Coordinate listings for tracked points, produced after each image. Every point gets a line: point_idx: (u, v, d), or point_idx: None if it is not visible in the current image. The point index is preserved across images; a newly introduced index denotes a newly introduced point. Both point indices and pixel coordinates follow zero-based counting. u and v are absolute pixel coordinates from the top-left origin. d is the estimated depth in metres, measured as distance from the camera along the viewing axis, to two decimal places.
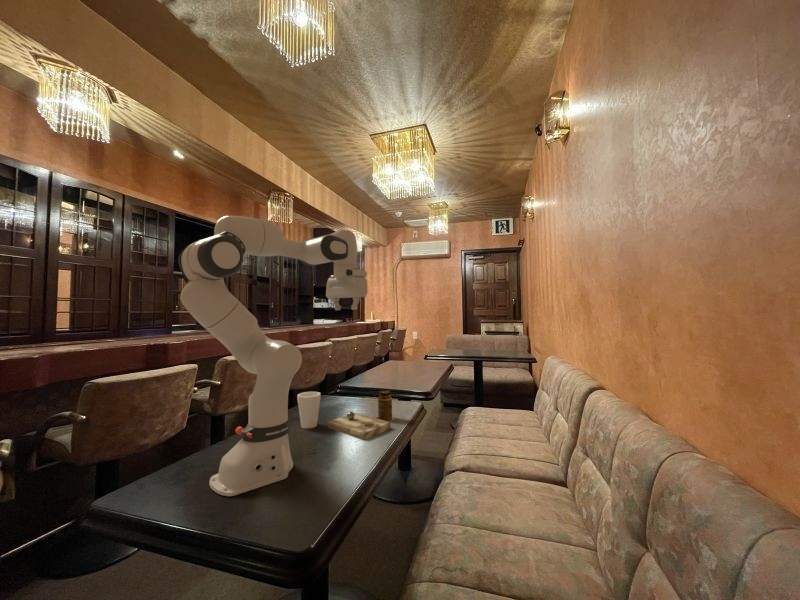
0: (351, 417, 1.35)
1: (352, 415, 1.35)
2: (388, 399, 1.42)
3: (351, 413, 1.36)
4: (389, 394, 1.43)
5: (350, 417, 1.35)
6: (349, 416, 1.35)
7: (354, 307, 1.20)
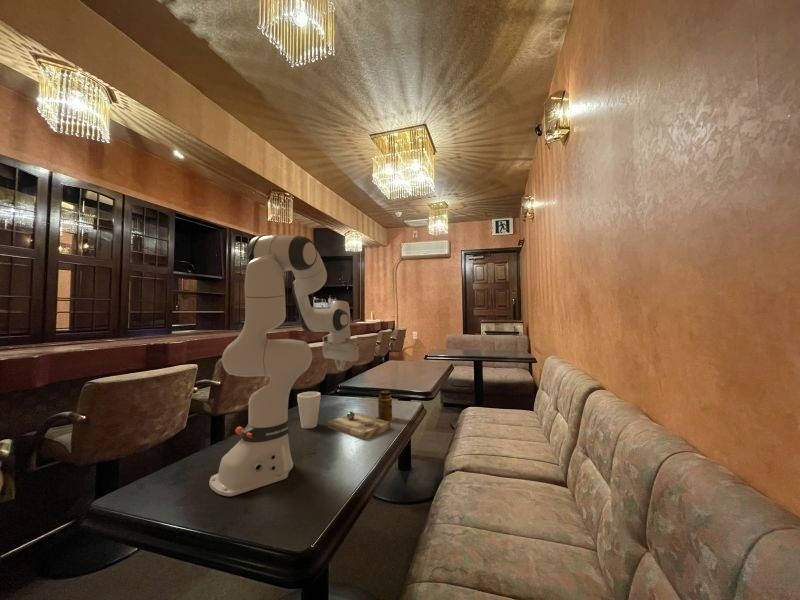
0: (351, 417, 1.35)
1: (352, 415, 1.35)
2: (388, 399, 1.42)
3: (351, 413, 1.36)
4: (389, 394, 1.43)
5: (350, 417, 1.35)
6: (349, 416, 1.35)
7: None
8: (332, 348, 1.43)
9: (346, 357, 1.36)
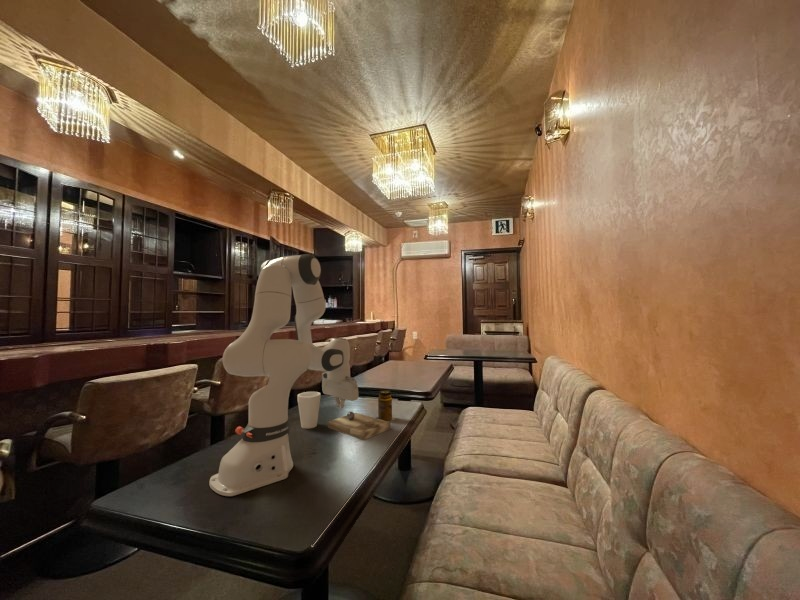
0: (351, 417, 1.35)
1: (352, 415, 1.35)
2: (388, 399, 1.42)
3: (351, 413, 1.36)
4: (389, 394, 1.43)
5: (350, 417, 1.35)
6: (349, 416, 1.35)
7: None
8: (332, 385, 1.42)
9: (346, 396, 1.36)
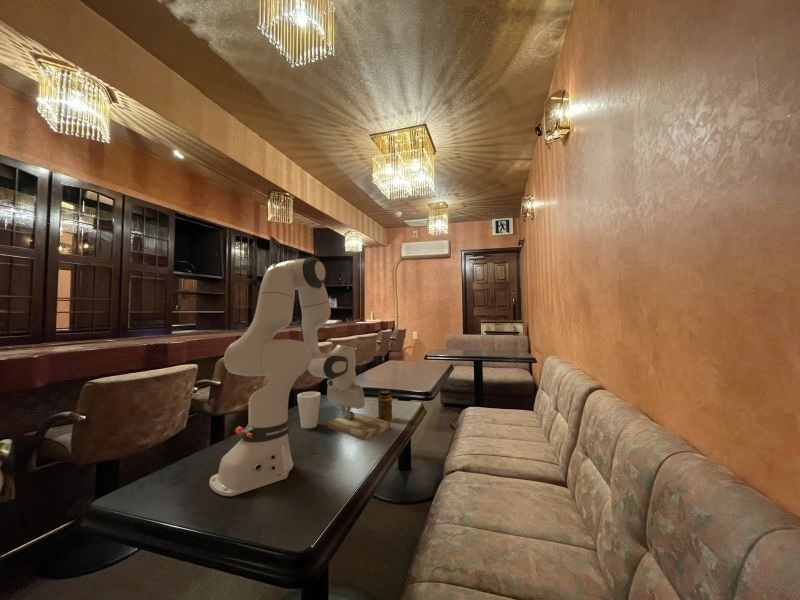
0: (351, 417, 1.35)
1: (352, 415, 1.35)
2: (388, 399, 1.42)
3: (351, 413, 1.36)
4: (389, 394, 1.43)
5: (350, 417, 1.35)
6: (349, 416, 1.35)
7: None
8: (337, 392, 1.40)
9: (352, 404, 1.33)
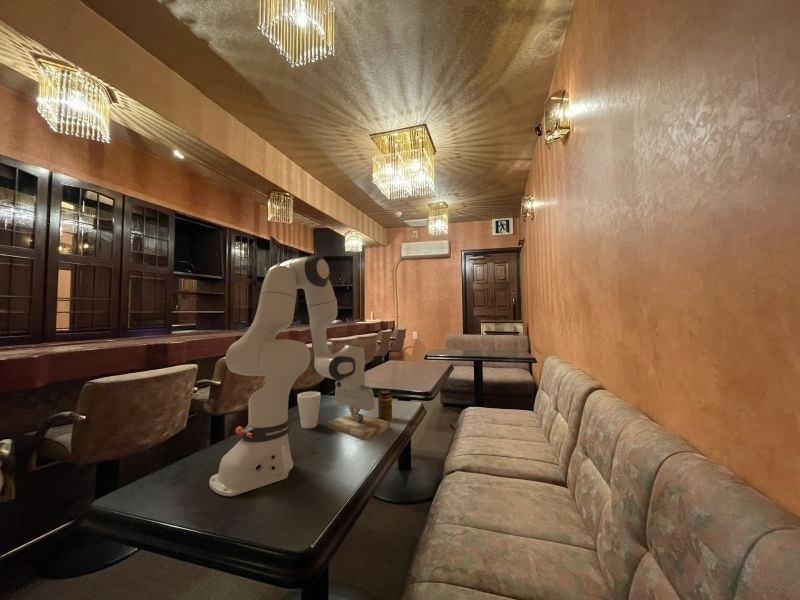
0: (356, 416, 1.33)
1: None
2: (388, 399, 1.42)
3: None
4: (389, 394, 1.43)
5: None
6: None
7: None
8: (346, 394, 1.36)
9: (362, 406, 1.30)
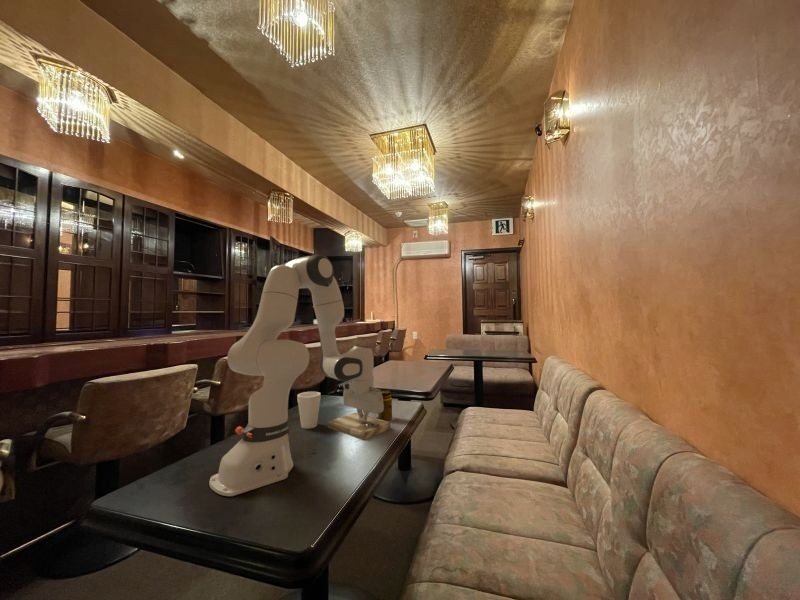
0: None
1: None
2: (388, 399, 1.42)
3: None
4: (389, 394, 1.43)
5: None
6: None
7: None
8: (354, 396, 1.33)
9: (370, 409, 1.26)
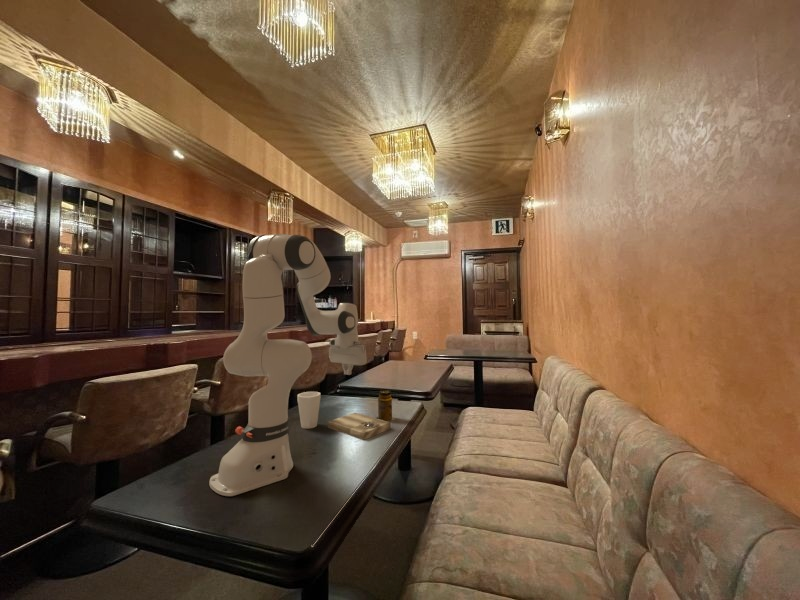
0: None
1: None
2: (388, 399, 1.42)
3: None
4: (389, 394, 1.43)
5: None
6: None
7: None
8: (339, 352, 1.39)
9: (354, 361, 1.33)
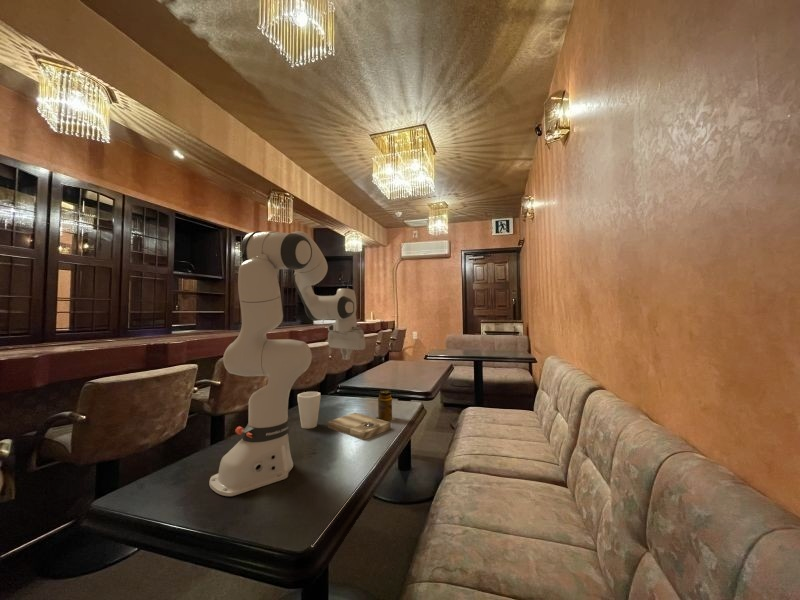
0: None
1: None
2: (388, 399, 1.42)
3: None
4: (389, 394, 1.43)
5: None
6: None
7: None
8: (338, 337, 1.40)
9: (353, 346, 1.34)
